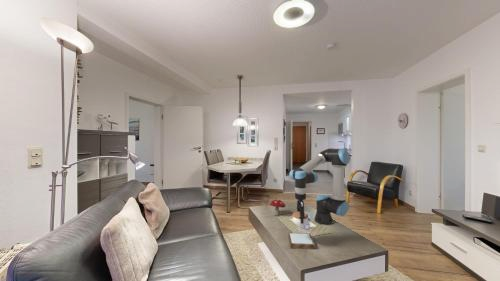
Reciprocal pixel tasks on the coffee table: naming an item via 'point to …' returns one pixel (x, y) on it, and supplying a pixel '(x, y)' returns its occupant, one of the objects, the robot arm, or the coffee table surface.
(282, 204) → the decorative mushroom
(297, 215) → the lidded jar
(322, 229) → the coffee table surface
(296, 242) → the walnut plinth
